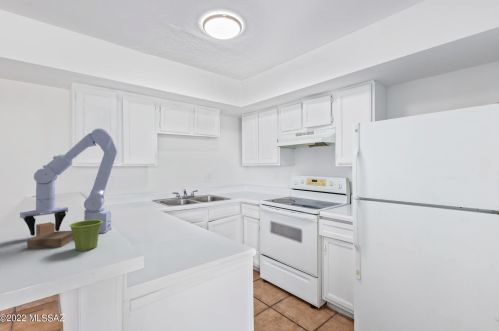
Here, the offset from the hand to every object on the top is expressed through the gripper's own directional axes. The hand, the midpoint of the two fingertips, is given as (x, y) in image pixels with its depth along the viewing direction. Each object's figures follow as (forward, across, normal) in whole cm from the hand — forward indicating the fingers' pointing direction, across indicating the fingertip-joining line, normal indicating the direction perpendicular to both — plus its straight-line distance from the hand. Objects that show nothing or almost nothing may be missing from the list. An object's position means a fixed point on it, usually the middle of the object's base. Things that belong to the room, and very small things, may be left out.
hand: (45, 232), depth 93 cm
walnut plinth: (+1, +1, +13) cm, 13 cm away
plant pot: (+2, -3, +28) cm, 28 cm away
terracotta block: (+2, 0, 0) cm, 2 cm away
